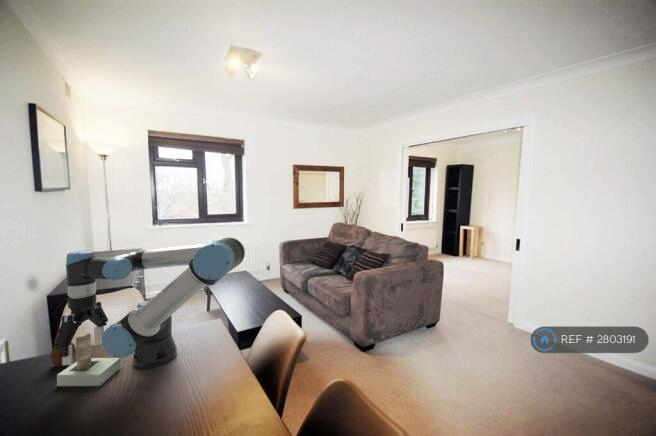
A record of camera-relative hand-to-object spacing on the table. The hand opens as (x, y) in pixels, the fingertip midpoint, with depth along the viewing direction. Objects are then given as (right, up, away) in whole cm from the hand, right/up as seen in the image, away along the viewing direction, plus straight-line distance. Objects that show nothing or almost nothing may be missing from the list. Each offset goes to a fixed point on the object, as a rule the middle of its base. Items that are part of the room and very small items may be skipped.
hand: (84, 353), depth 99 cm
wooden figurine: (-15, -8, +8) cm, 19 cm away
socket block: (+2, -9, +1) cm, 9 cm away
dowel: (0, -9, +1) cm, 9 cm away
